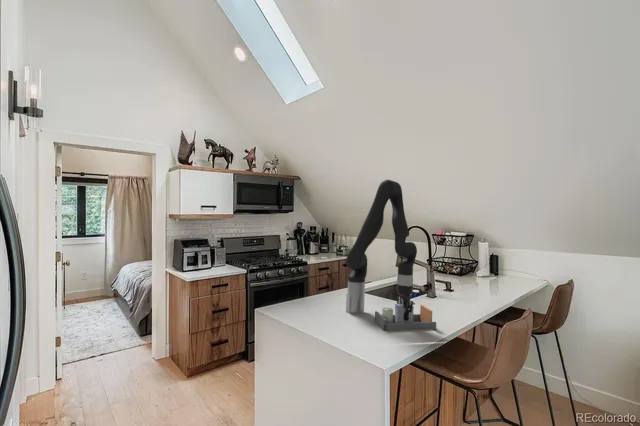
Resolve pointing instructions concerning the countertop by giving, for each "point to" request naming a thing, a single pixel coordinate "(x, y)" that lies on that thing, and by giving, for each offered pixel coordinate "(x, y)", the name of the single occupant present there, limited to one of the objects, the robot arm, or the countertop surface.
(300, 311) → the countertop surface
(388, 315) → the sage jar
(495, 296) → the countertop surface
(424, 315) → the pusher paddle
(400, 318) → the medicine box
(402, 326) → the pusher lane
